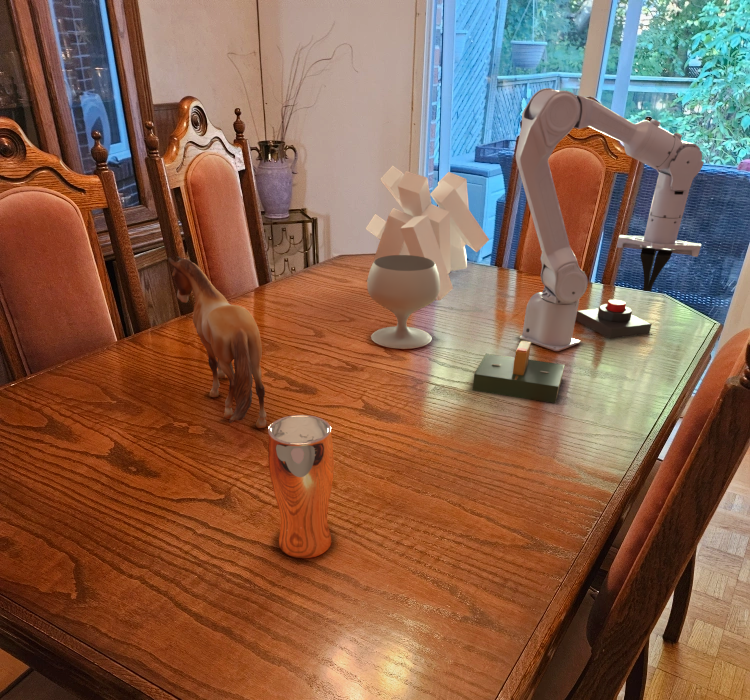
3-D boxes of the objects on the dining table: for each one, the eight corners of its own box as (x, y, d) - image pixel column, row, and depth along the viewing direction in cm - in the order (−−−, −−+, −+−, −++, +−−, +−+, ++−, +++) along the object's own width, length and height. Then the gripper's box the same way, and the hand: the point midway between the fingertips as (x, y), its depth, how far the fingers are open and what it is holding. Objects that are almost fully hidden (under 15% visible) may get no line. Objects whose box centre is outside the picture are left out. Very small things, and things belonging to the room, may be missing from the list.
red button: (602, 308, 141) (604, 300, 140) (616, 307, 142) (618, 298, 141) (613, 313, 138) (615, 305, 137) (627, 312, 139) (629, 303, 138)
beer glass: (276, 526, 80) (267, 414, 72) (334, 524, 81) (332, 413, 72) (274, 562, 75) (264, 445, 66) (336, 560, 75) (334, 444, 67)
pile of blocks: (391, 279, 187) (338, 161, 163) (495, 242, 178) (454, 110, 153) (389, 357, 165) (327, 233, 140) (508, 318, 155) (463, 178, 131)
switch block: (575, 320, 145) (578, 302, 143) (613, 316, 148) (617, 298, 146) (609, 339, 136) (614, 320, 134) (649, 334, 139) (654, 315, 137)
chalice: (355, 345, 130) (355, 267, 122) (381, 323, 141) (383, 250, 133) (423, 356, 126) (428, 276, 118) (444, 333, 137) (450, 258, 128)
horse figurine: (185, 375, 117) (166, 254, 105) (228, 368, 120) (214, 249, 108) (234, 456, 94) (217, 313, 82) (286, 445, 97) (277, 305, 85)
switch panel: (472, 390, 114) (474, 373, 112) (484, 368, 122) (486, 352, 120) (555, 403, 110) (558, 385, 108) (561, 380, 118) (564, 363, 116)
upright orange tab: (517, 362, 117) (521, 339, 114) (527, 363, 116) (531, 340, 114) (512, 374, 112) (515, 350, 110) (523, 375, 112) (526, 351, 110)
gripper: (621, 215, 121) (606, 289, 129) (707, 223, 116) (685, 300, 124) (626, 208, 127) (611, 280, 134) (708, 216, 122) (687, 290, 129)
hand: (647, 289), depth 129 cm, fingers closed
